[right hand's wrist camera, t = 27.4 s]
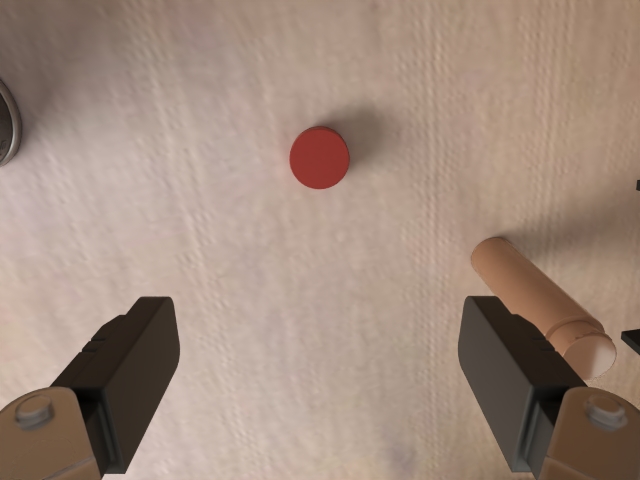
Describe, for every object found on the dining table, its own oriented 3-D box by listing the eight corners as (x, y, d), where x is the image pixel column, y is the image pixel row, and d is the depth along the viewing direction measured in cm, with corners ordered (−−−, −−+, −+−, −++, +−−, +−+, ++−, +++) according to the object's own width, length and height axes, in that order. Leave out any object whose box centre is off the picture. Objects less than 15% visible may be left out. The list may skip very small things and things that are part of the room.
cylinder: (522, 257, 39) (635, 359, 25) (488, 284, 40) (577, 396, 26) (497, 229, 38) (601, 318, 24) (462, 257, 39) (541, 358, 25)
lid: (279, 150, 35) (277, 154, 34) (325, 114, 34) (325, 116, 33) (313, 194, 37) (313, 200, 35) (359, 161, 36) (361, 166, 34)
